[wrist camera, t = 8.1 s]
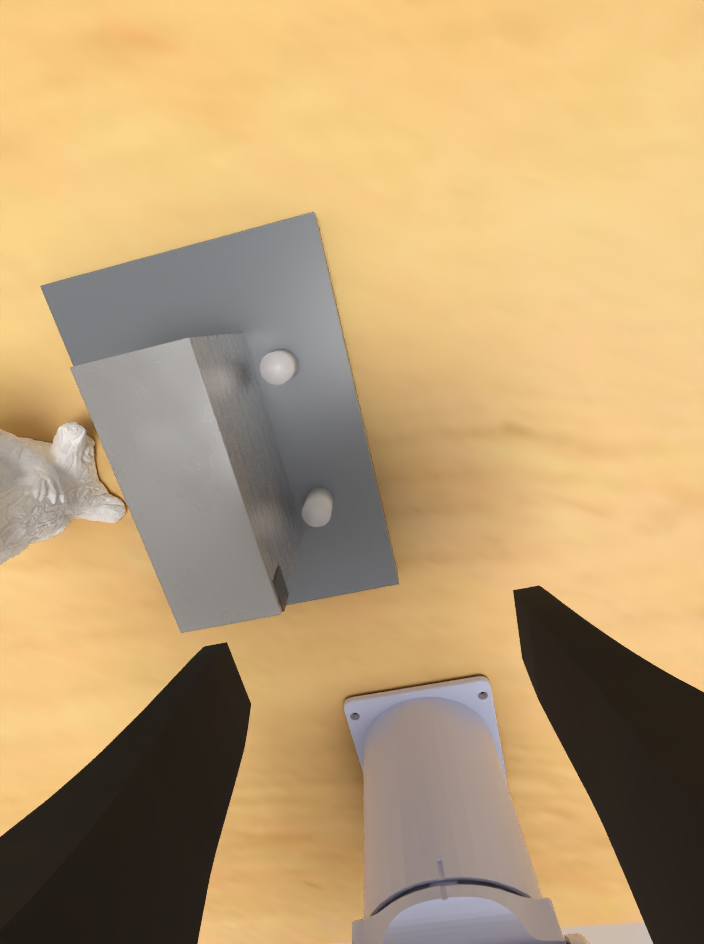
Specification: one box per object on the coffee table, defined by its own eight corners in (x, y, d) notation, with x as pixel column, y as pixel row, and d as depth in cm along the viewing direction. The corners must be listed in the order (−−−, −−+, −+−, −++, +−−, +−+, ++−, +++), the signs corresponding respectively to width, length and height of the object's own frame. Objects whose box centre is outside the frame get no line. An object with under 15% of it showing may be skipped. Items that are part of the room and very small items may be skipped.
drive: (304, 535, 21) (282, 616, 15) (230, 550, 21) (180, 635, 15) (245, 332, 18) (190, 337, 12) (160, 353, 18) (68, 367, 12)
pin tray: (397, 572, 22) (402, 604, 20) (188, 612, 23) (167, 646, 21) (316, 218, 17) (309, 200, 15) (57, 287, 18) (9, 282, 16)
